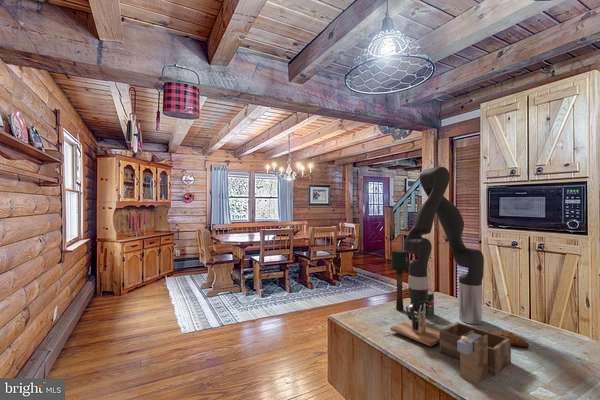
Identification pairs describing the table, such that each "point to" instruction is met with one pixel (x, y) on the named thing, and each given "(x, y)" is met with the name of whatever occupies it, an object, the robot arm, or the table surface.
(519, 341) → the croissant
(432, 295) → the canned tomato
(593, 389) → the table surface
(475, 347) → the toolbox
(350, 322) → the table surface
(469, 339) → the drawer
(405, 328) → the lid
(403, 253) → the stick grenade
